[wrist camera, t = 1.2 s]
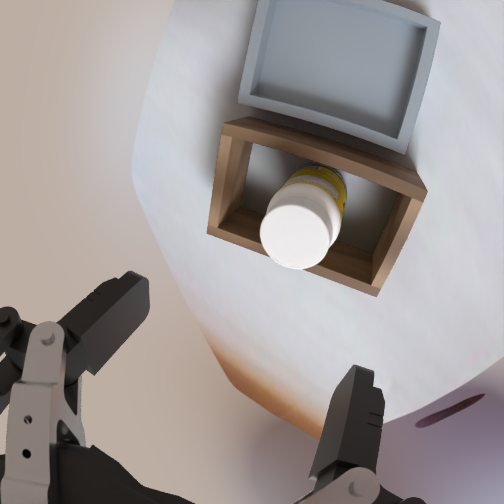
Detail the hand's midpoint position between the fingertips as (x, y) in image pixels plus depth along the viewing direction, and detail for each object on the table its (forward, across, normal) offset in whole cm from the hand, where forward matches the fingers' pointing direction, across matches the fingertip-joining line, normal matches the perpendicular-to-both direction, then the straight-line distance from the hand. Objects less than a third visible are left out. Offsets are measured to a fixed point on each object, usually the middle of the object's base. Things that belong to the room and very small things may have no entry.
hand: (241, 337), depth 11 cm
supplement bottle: (+16, 0, 0) cm, 16 cm away
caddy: (+16, 0, 0) cm, 16 cm away
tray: (+16, +1, -11) cm, 19 cm away
